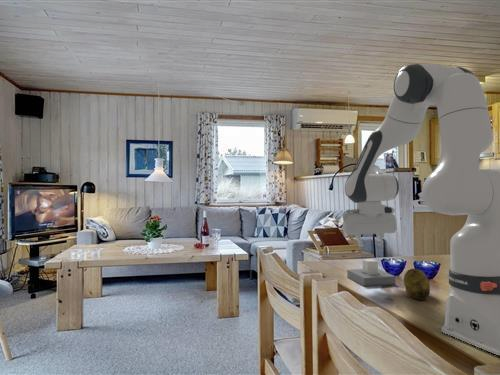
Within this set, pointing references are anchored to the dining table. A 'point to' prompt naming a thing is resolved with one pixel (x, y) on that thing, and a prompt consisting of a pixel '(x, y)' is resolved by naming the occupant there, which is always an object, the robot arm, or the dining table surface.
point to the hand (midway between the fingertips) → (369, 246)
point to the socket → (371, 278)
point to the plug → (370, 266)
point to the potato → (417, 284)
